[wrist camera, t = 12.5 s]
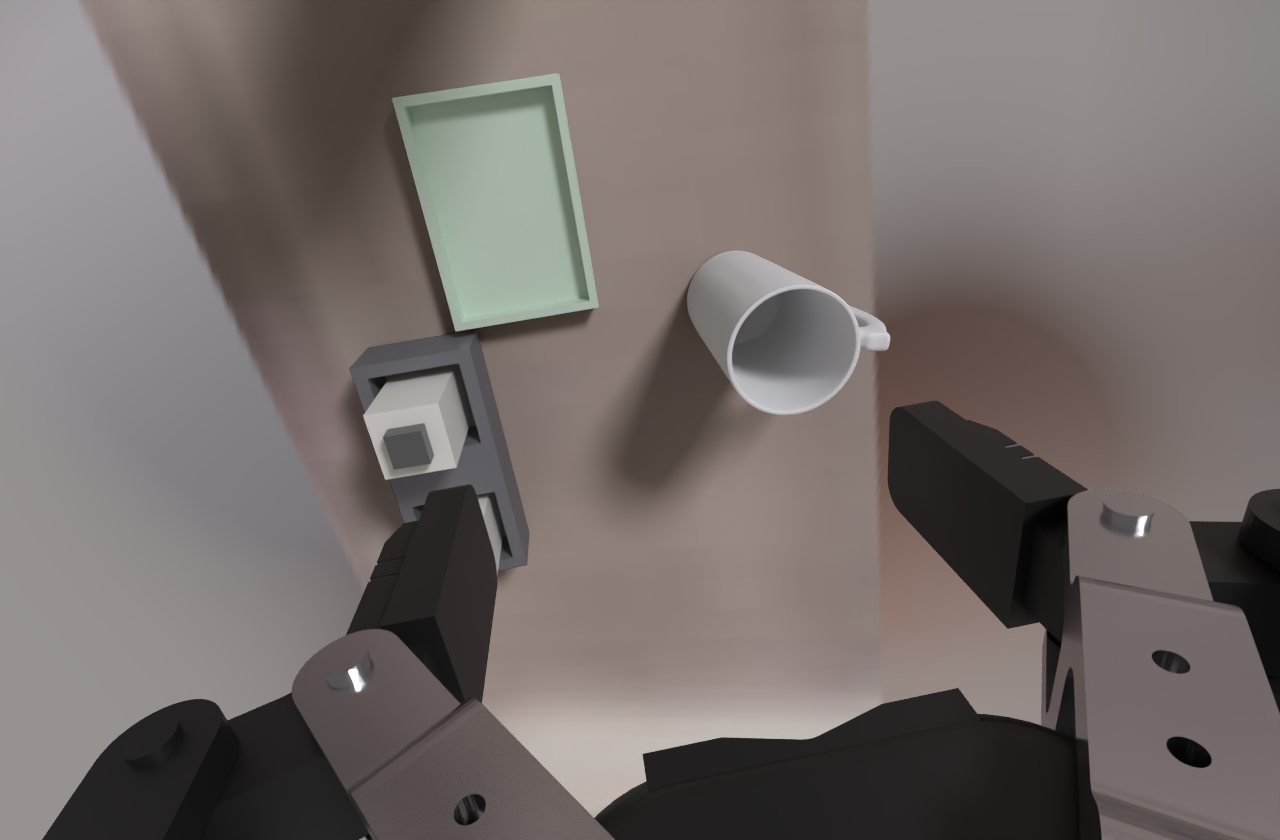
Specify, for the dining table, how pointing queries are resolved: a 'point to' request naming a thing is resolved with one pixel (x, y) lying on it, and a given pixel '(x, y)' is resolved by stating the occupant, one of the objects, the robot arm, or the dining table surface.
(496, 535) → the twin plug
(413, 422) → the plug
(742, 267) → the mug
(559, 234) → the tray
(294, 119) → the dining table surface
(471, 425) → the grey rectangular frame
